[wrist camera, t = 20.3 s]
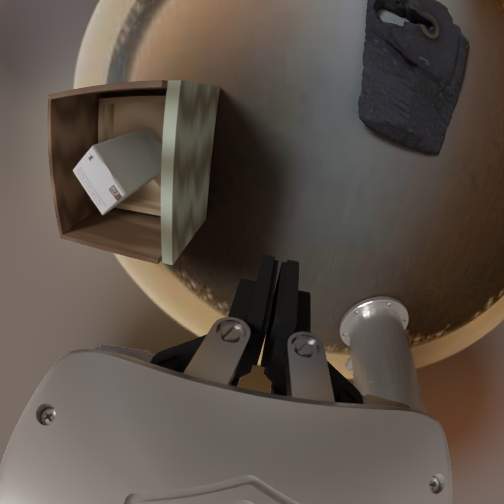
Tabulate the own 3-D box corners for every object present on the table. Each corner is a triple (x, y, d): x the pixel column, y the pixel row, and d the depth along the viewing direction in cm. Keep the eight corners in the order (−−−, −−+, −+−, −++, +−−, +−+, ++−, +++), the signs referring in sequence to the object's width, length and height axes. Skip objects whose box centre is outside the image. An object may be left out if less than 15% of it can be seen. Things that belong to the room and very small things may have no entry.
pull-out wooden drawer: (206, 219, 37) (172, 265, 27) (117, 203, 38) (69, 238, 28) (220, 87, 28) (181, 80, 18) (118, 87, 29) (58, 92, 19)
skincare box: (130, 145, 31) (68, 170, 21) (152, 125, 30) (90, 142, 19) (154, 181, 34) (99, 218, 23) (178, 163, 32) (125, 195, 22)
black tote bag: (334, 117, 28) (340, 119, 24) (369, -21, 17) (377, -35, 13) (437, 162, 28) (454, 171, 24) (468, 31, 16) (485, 27, 12)
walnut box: (196, 216, 38) (158, 264, 27) (111, 201, 39) (60, 237, 28) (208, 86, 28) (162, 80, 18) (111, 88, 29) (48, 94, 19)
